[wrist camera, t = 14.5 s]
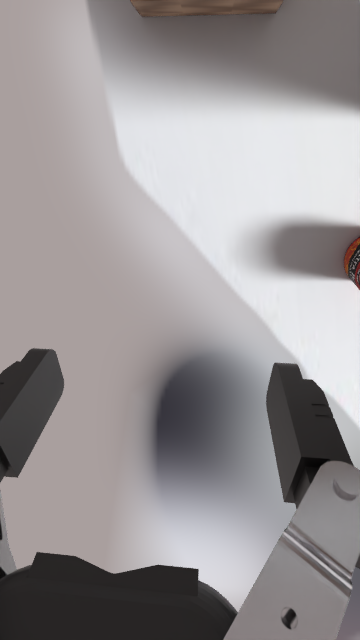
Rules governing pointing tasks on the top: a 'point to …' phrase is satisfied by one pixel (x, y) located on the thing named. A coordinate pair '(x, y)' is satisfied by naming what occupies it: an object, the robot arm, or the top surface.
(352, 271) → the canned food
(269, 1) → the hole block
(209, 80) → the top surface
